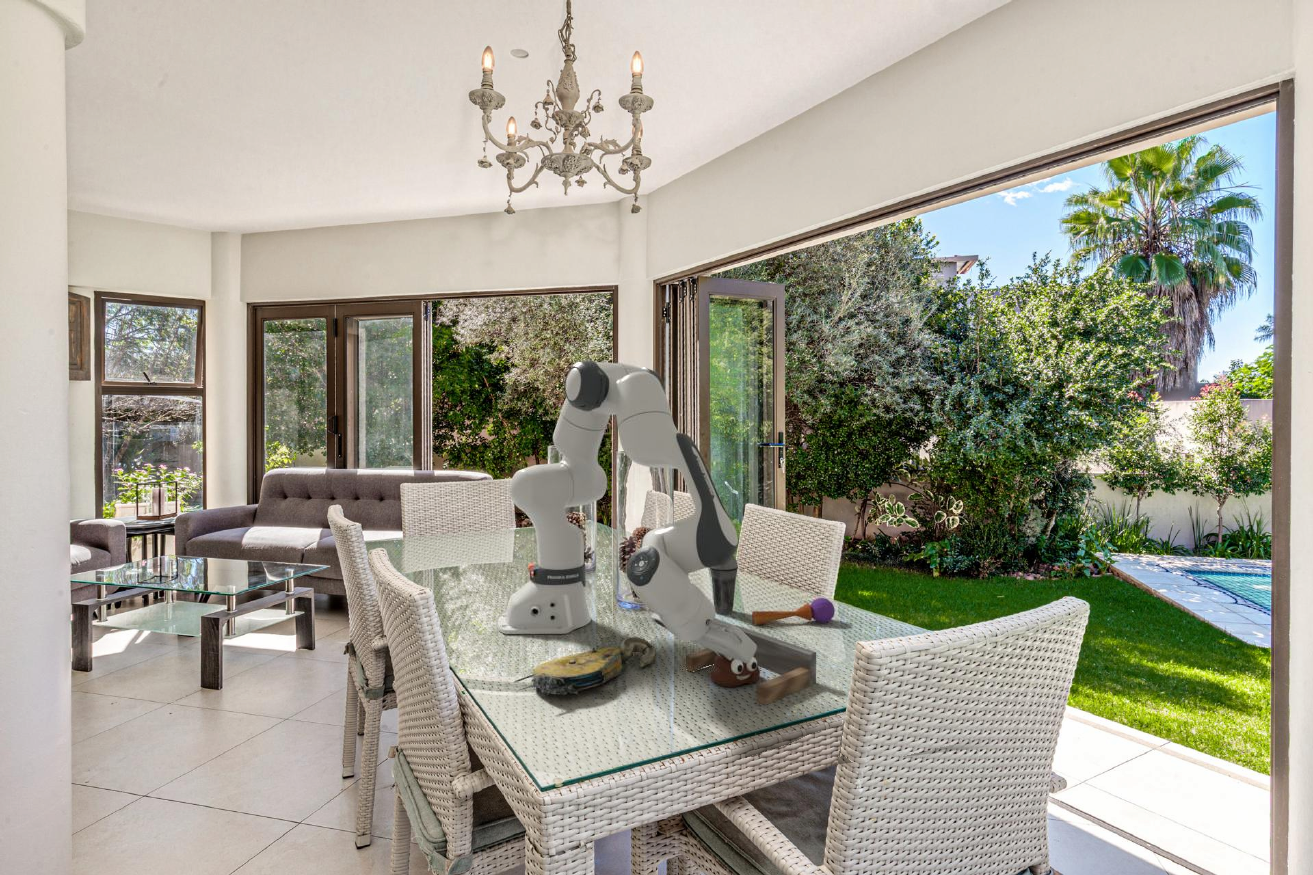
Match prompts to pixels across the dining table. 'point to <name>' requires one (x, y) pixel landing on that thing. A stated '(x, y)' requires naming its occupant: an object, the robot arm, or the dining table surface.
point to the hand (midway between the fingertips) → (727, 654)
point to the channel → (770, 665)
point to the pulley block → (589, 667)
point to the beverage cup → (724, 586)
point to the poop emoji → (734, 672)
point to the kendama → (799, 612)
